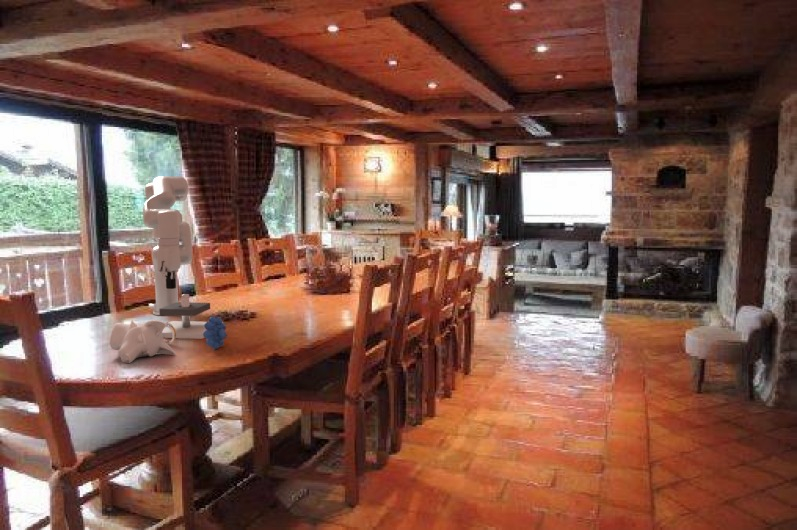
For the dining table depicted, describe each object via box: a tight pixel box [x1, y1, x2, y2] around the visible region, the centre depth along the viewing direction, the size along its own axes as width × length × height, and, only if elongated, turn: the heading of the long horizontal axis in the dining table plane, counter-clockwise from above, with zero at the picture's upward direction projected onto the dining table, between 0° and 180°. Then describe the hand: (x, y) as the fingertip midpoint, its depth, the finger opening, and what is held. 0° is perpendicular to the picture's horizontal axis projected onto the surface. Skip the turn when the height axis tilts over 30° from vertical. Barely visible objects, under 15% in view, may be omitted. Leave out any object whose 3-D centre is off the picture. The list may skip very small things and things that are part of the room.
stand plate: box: [162, 320, 224, 340], centre depth 217 cm, size 22×20×2 cm
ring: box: [163, 321, 177, 345], centre depth 198 cm, size 7×3×8 cm, turn 67°
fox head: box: [109, 319, 176, 364], centre depth 180 cm, size 14×17×20 cm
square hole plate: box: [159, 301, 211, 317], centre depth 216 cm, size 14×14×2 cm
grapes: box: [203, 316, 228, 350], centre depth 191 cm, size 12×7×12 cm, turn 163°
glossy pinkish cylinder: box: [180, 293, 191, 328], centre depth 216 cm, size 4×4×13 cm
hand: (171, 288), depth 216 cm, fingers closed
